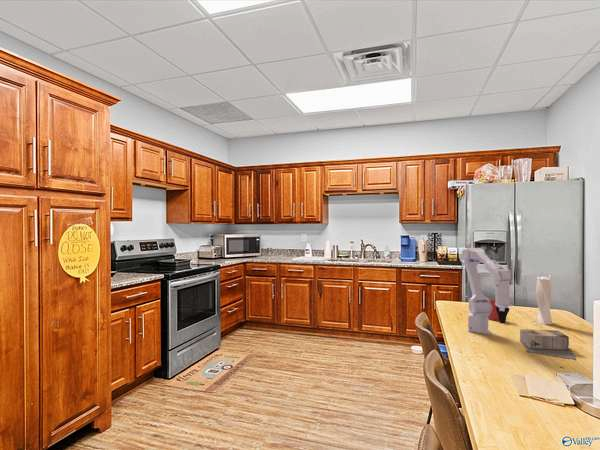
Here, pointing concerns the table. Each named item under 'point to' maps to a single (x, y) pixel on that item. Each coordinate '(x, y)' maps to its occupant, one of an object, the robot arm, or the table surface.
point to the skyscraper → (544, 300)
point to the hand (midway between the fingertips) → (502, 323)
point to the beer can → (493, 310)
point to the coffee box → (544, 339)
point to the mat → (553, 352)
